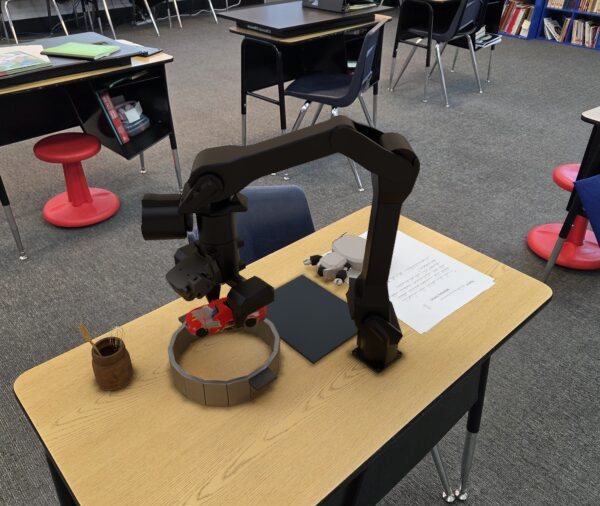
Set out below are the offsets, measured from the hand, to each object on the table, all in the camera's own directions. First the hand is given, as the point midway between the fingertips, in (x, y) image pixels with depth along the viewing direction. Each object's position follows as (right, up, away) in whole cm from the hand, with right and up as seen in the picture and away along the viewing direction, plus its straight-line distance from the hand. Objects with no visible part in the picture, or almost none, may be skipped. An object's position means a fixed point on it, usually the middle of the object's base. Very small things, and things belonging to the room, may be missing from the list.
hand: (226, 317), depth 88 cm
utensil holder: (-19, -11, +2) cm, 22 cm away
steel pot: (-1, -9, +5) cm, 10 cm away
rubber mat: (+13, -2, +16) cm, 21 cm away
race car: (0, -1, +1) cm, 1 cm away
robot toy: (+21, +6, +29) cm, 37 cm away
